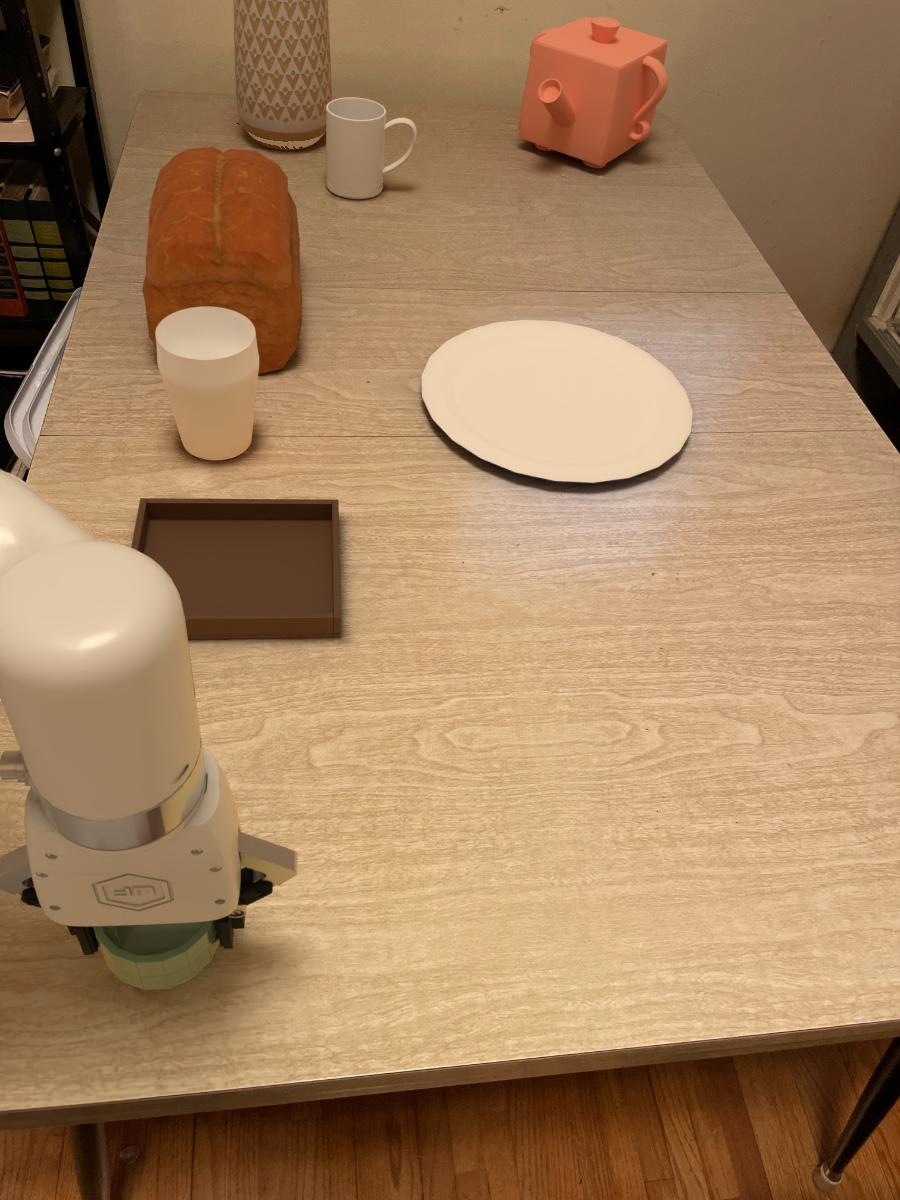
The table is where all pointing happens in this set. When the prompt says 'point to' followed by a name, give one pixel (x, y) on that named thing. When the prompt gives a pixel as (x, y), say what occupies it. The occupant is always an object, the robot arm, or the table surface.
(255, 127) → the vase
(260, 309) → the bread
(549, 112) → the teapot
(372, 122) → the mug
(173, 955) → the bowl
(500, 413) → the plate
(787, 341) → the table surface
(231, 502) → the tray
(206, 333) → the cup
